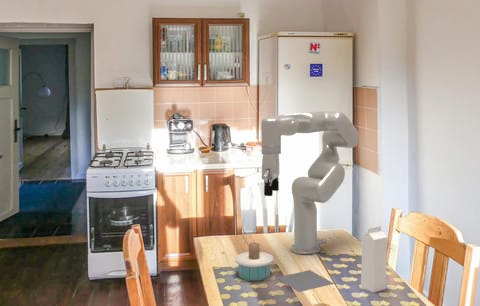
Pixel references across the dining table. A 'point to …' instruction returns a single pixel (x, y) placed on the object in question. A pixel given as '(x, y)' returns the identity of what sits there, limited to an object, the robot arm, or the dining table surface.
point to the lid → (254, 257)
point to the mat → (304, 280)
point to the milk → (374, 260)
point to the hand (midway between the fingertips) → (271, 193)
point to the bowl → (254, 272)
